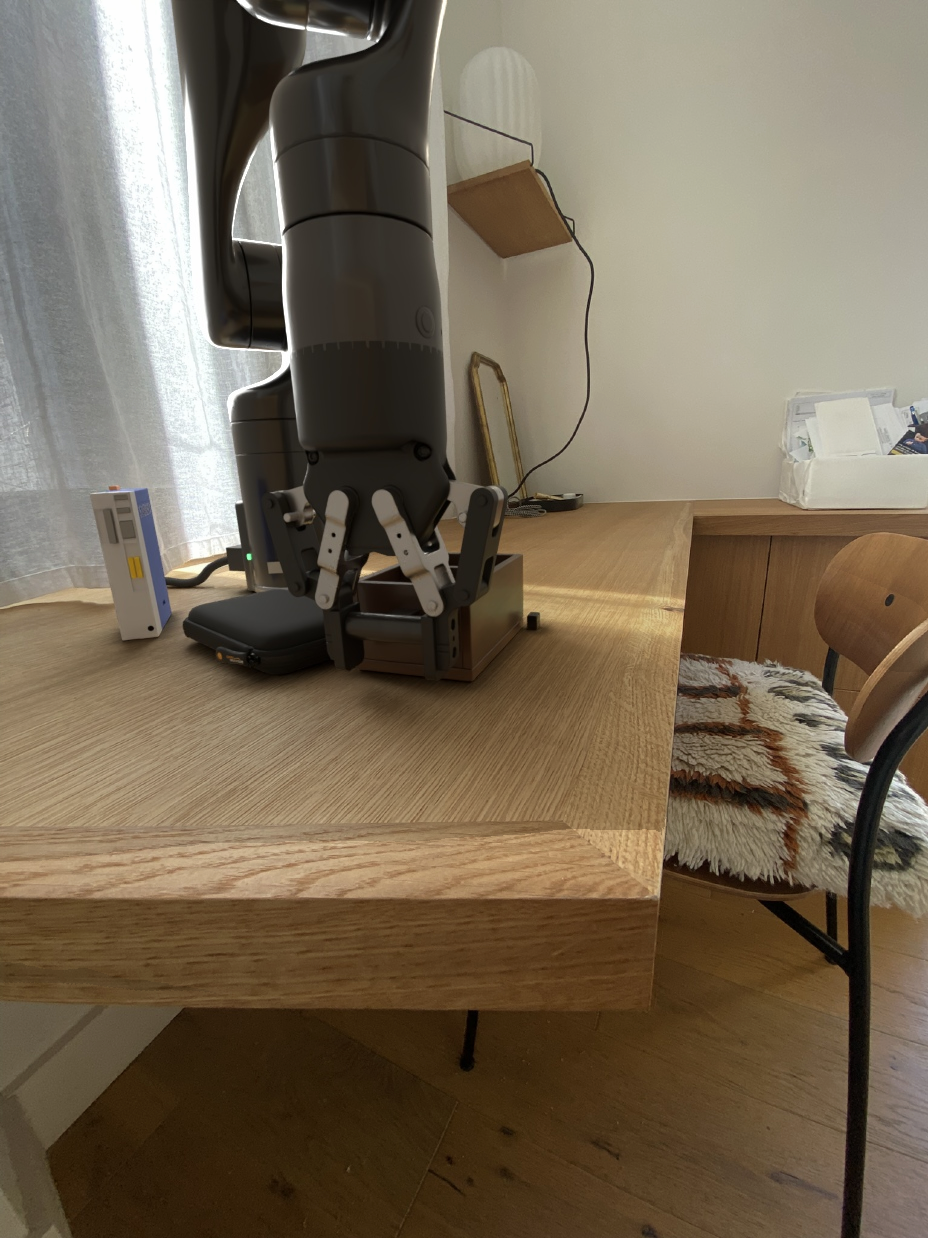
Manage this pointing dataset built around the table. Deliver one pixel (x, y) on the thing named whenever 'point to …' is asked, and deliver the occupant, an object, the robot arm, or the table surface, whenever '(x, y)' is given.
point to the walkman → (132, 561)
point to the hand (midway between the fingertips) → (392, 669)
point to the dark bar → (533, 621)
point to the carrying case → (262, 631)
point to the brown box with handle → (397, 613)
